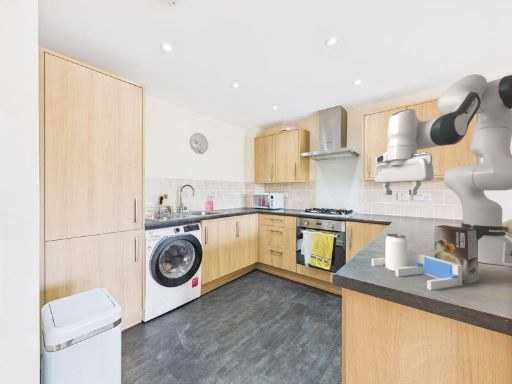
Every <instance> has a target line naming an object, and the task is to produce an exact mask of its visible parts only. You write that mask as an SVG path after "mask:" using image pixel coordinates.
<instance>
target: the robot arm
mask: <svg viewBox="0 0 512 384" xmlns="http://www.w3.org/2000/svg"><path fill="white" fill-rule="evenodd" d="M436 108H437V109H438V112H439V113H440V114H441V116H438V117H437V116H436V117H434V118H432V119H427V120H424V121H423V120H421V119H419V117H418V116H417V112H416V110H415V109H413V108H411V109H404V110H400V111H397V112H395V113H393V114H392V115H390V117H389V120H388V123H387V136H386V137H387V141H388V143H387V147H386V152H384V153H382V154H380V155H379V156H377V157H375V159H374V161H375V162H374V163H375V164H376V165H375V166H374V173H373V177H374V178H373V180H374V182H375V183H377V184H382V187H383V189H384V194H385V195H386V196H388V195H389V196H392V195H393V190H392V189H391V188H390V186H391V183H392V184H393V183H411V185H412V187H411V189H409V190H408V195H409V196H417V195H418V190H419V188H421V185H422V182H431V181H432V180H433V179H434V177H435V176H434V174H435V173H434V167H433V156H432V155H433V154H431V153H429V152H427V151H424V152H418V153H417V151H419V150H424V149H430V148H436V147H442V146H443V147H444V146H451V145H456V144H458V143H460V141H462V140H463V139H464V137H465V136H466V134H467V132H468V129H469V126H470V124H471V122H472V120H474V117H475V115H478V114H479V117H478V120H477V121H476V124H475V127H474V131H473V134H472V138H471V141H470V142H471V143H470V148H469V150H470V152H471V153H472V155H474V156H476V157H478V158H483V159H482V162H481V163H475V164H467V165H465V164H464V165H460V166H459V165H458V166H454V167H451V168H448V169H447V170H446V171H445V173H444V174H443V184H444V185H445V187H447V188H448V189H449V190H451V191H452V192H454V194H455V195H456V196H457V197H458V199H459V201H460V203H461V207H462V222H461V225H460V227H463V228H471V229H478V263H482V264H490V265H497V266H498V265H499V266H505V267H506V266H507V267H511V266H512V241H511V239H509V238H508V237H507V233H506V232H509V231H510V227H509V226H504V225H503V208H502V206H501V205H500V203H498V202H497V201H494V200H492V199H489V197H487V196H486V194H485V191H509V190H512V152H511V142H512V74H510V75H509V74H508V75H505V76H503V77H501V78H498V79H495V80H491V81H487V78H486V77H485V76H483V75H481V74H479V73H477V74H475V73H474V74H469V75H466V76H463V77H462V78H461V79H458V80H457V81H456V82H454V83H453V84H452V85H450V86H449V87H448V88H447V89H446V90H445V91H444V92H443V93H441V95H440V96H439V97H438V100H437V102H436Z"/></svg>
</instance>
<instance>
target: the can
mask: <svg viewBox="0 0 512 384" xmlns="http://www.w3.org/2000/svg"><path fill="white" fill-rule="evenodd" d="M407 250H408V240H407V237H406V235H402V234H396V233H387V234H386V236H385V252H384V253H385V257H384V258H385V265H384V266H385V268H386V270H388V271H391V272H394V273H396V268H401V267H407Z"/></svg>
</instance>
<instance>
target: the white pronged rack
mask: <svg viewBox="0 0 512 384" xmlns="http://www.w3.org/2000/svg"><path fill="white" fill-rule="evenodd" d="M371 266H372V267H381V266H385V257H378V258H377V257H376V258H371ZM415 275H426V276H428V277H432V278H434V279H428V280H426V286H427V287H426V289H427V290H430V291H434V290H440V289H447V288H454V287H460V286H463V282H462V265H459V264H455V263H452V262H448V261H444V260H441V259H437V258H435V256H429V255H426V254H423V253H419V252H415V251H411V250H409V249H407V267H401V268H396V272H395V276H396V277H398V278H399V277H407V276H415Z"/></svg>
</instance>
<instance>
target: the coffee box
mask: <svg viewBox="0 0 512 384" xmlns="http://www.w3.org/2000/svg"><path fill="white" fill-rule="evenodd" d="M433 231H434V232H433V233H434V258H437V259H441V260H444V261H448V262H452V263H455V264H459V265H462V283H466V284H471V283H474V282H478V281H479V262H478V229H471V228H463V227H461V226H456V225H455V226H454V225H446V224H445V225H444V224H443V225H437V226H436V225H435V226H434V230H433Z"/></svg>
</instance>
